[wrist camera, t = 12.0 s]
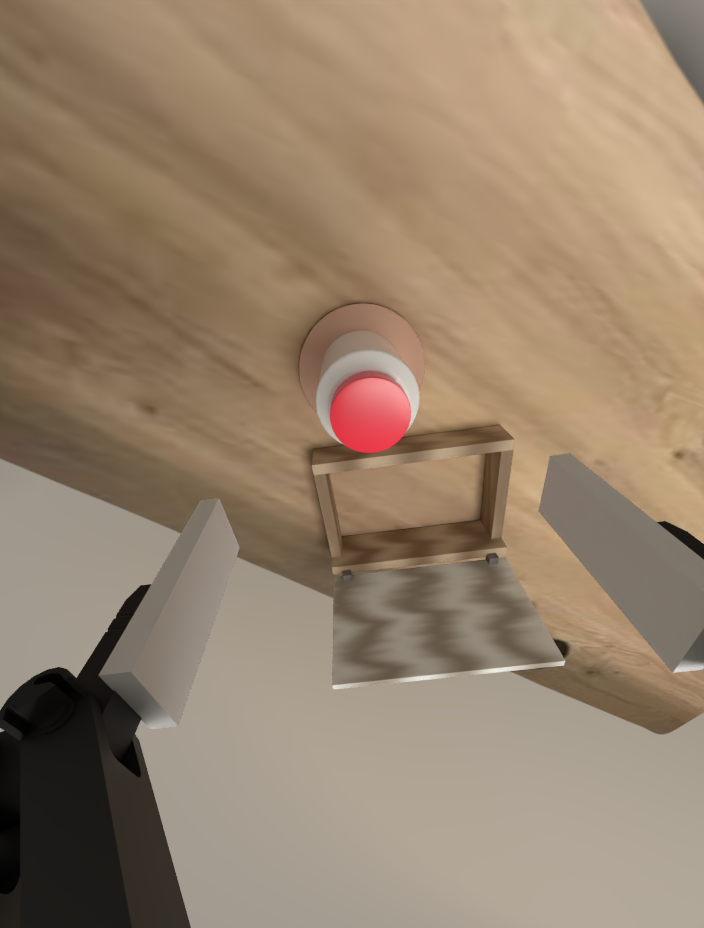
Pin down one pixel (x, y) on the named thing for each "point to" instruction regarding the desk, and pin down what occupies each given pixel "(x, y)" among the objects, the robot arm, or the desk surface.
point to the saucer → (356, 320)
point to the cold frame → (429, 579)
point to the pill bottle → (366, 392)
